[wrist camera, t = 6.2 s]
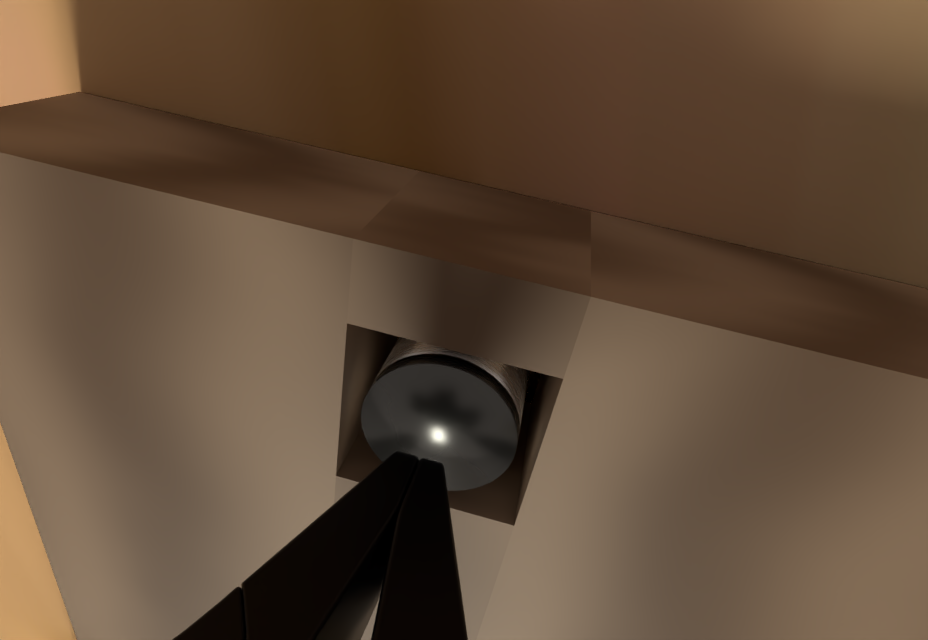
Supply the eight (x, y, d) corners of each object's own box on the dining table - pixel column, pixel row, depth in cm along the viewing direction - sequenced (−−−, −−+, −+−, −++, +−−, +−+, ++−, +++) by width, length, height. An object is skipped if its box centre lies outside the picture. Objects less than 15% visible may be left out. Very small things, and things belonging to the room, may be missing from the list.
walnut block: (987, 302, 11) (1157, 435, 8) (676, 706, 20) (694, 850, 17) (79, 91, 13) (-104, 127, 9) (162, 552, 22) (83, 655, 18)
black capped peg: (548, 291, 13) (534, 390, 10) (520, 392, 14) (499, 507, 11) (422, 260, 13) (367, 347, 10) (407, 363, 15) (355, 467, 11)
